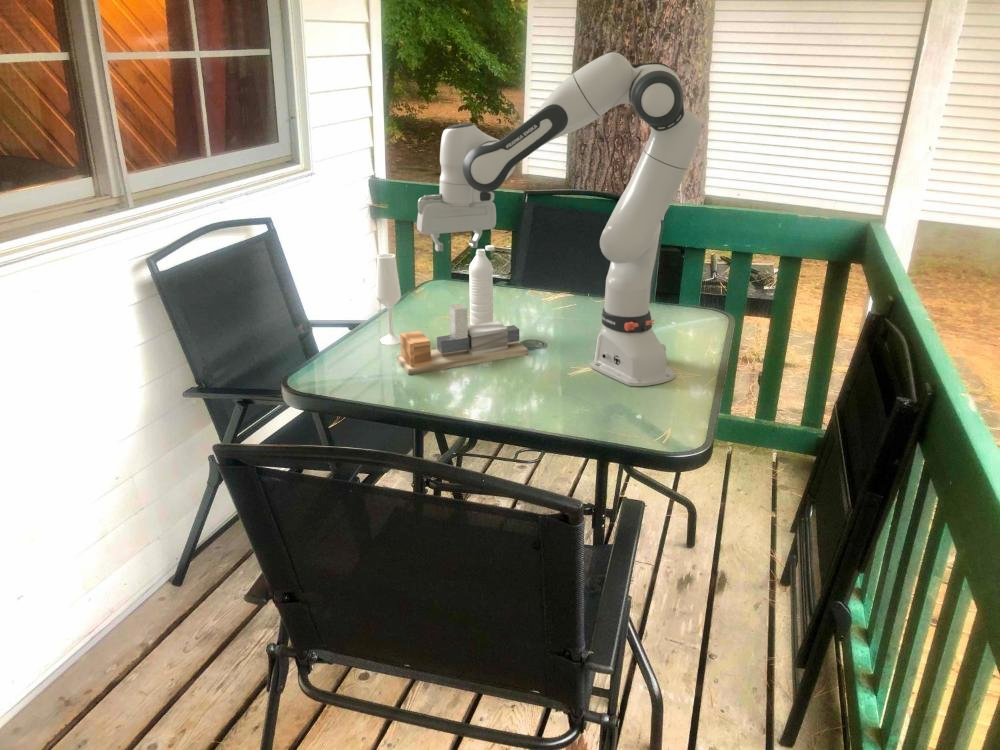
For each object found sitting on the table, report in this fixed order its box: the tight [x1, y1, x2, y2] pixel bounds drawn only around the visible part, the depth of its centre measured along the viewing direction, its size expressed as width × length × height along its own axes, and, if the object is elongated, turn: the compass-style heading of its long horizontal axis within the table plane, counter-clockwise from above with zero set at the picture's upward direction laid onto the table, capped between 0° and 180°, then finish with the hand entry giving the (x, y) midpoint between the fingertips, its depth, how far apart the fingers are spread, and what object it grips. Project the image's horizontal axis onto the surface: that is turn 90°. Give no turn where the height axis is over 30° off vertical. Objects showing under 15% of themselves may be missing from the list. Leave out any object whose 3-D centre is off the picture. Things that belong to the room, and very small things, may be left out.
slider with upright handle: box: [436, 303, 520, 354], centre depth 200 cm, size 4×22×11 cm, turn 114°
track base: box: [396, 321, 529, 375], centre depth 201 cm, size 10×33×8 cm, turn 114°
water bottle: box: [468, 244, 495, 326], centre depth 212 cm, size 9×6×25 cm
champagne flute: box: [375, 253, 402, 346], centre depth 209 cm, size 7×7×24 cm
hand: (456, 248), depth 192 cm, fingers open, 8 cm apart
